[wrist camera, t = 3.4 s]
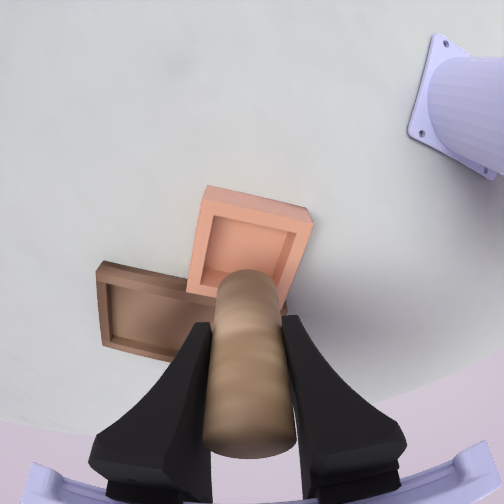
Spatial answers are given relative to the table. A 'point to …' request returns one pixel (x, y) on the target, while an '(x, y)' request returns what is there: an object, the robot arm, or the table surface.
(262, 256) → the open box
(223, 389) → the dowel
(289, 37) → the table surface
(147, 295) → the tray
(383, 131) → the table surface
